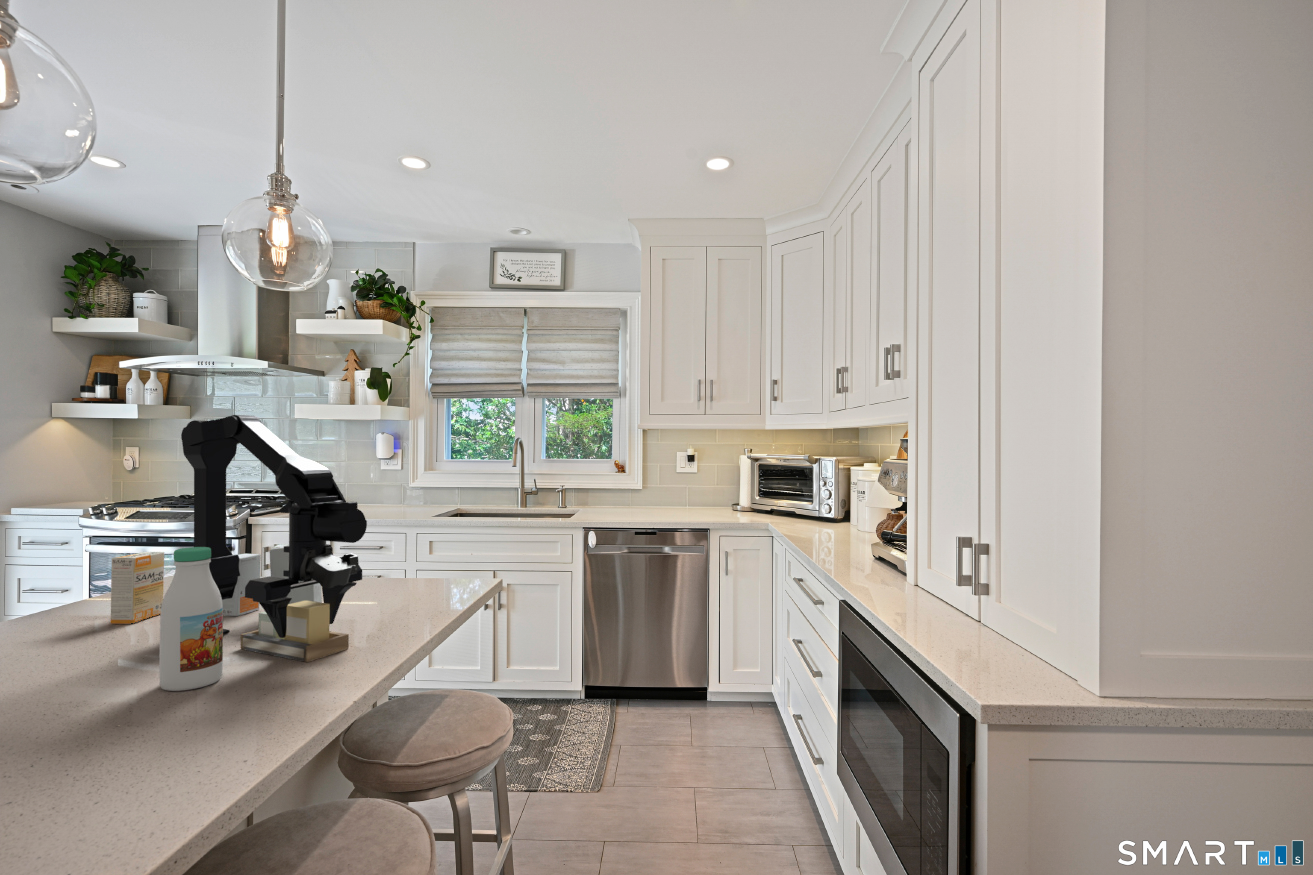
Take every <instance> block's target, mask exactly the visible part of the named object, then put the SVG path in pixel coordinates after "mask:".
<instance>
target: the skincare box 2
mask: <svg viewBox="0 0 1313 875" xmlns="http://www.w3.org/2000/svg"><path fill="white" fill-rule="evenodd" d="M284 546H289V543H287V544H286V543H284V544H282V543H281V544H277V545H275V546H273V547H272V548H270V549H269V564H270V565H269V566H270V568H269V569H270V570H269V571H270V577H278V578H285V579H288V578H289V577H285V576H283V571H284V570H288V569H289V553H287V552H284ZM312 580H313V579H312ZM300 582H302V581H300ZM287 597H288V598H292V599H291V601H290V603H289V604H292V603H297V602H301V601H305V600H306V601H313V602H320V603H323V601H322V599H323V598H322V597H323V594H322V586H321V585H320V583H318V584H313V585H308V586H304V587H299V588H294V589H291V592H290V593H289V594H288V595H287Z"/></svg>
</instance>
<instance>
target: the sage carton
mask: <svg viewBox="0 0 1313 875" xmlns="http://www.w3.org/2000/svg"><path fill="white" fill-rule="evenodd" d="M258 630H259V635H263V636H268V637H274V638H279V639H284V638H280V637H279V636H278V634H277V632H276V630H275V628H274V626H273V624H272V622H271V620H270V619H269V617H268V615H267V613H266V612H265V611H260V612H258Z"/></svg>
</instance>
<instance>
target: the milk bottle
mask: <svg viewBox="0 0 1313 875" xmlns="http://www.w3.org/2000/svg"><path fill="white" fill-rule="evenodd" d="M210 558H211V548H209V547H194V546H191V547H182V548H178V549H175V550H174V552H173V561H174V562H173V565H174V567H175V570H174V575H173V578H172V580H171V583H170V585H169V586H168V588H167V590H166V591H165V593H164V595H163V602H162V607H161V614H160V617H159V618H160V621H159V677H158V678H159V686H160V688H161V689H162V690H163V691H170V692H179V691H180V692H181V691H189V690H195V689H199V688H200V689H201V688H203V687H206V686H210V685H212V684H215V683H218V681H219V680H220V679H222V676H223V668H224V667H223V662H224V660H223V656H224V655H223V653H224V650H223V649H224V648H223V647H224V645H223V644H224V639H223V638H224V636H223V635H224V634H223V629H224V628H223V627H224V625H223V624H224V620H223V619H224V615H223V609H222V598H221V594H220V591H219V589H218V587H217V585H216V583H215V582H214V580H213V578H212V575H211V572H210V569H209V563H210V562H211V559H210Z"/></svg>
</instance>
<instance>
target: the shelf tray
mask: <svg viewBox="0 0 1313 875" xmlns="http://www.w3.org/2000/svg"><path fill="white" fill-rule="evenodd" d="M349 635H350V634H349V633H344V632H339V631H332V630H331V631H330V630H329V639H326V640H323V641H320V642H317V643H313V644H306V643H301V642H296V641H290V640H285V639H279V638H274V637H268V636H263V635H259V629H256V630H253V631H248V632H244V633H241V634H240V648H241V649H240V650H244V649H246V650H245V651H250V652H254V651H256V652H255V653H259V652H260V653H259V654H264V653H265V655H269V654H270V655H271V656H274V655H275V657H280V658H284V657H286V659H290V660H295V661H300V662H304V663H310V662H312V661H317V660H320V659H322V658H324V657H325V658H326V657H327V656H331V655H334V654H337V653H339V652H342V651H345V650H348V649H349V646H350V645H349V641H350V640H349V638H350V637H349Z"/></svg>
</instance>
